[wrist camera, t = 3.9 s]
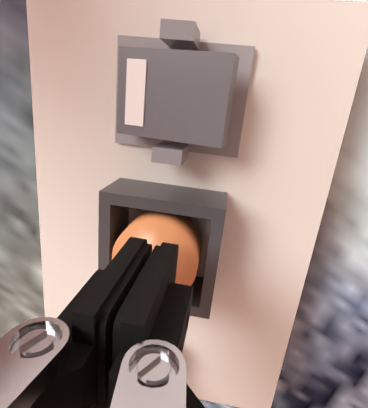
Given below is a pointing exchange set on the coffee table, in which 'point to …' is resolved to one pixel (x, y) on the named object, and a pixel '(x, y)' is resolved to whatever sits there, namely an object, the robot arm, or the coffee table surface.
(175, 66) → the rocker switch
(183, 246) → the push button
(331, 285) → the coffee table surface
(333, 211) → the coffee table surface
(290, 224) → the switch board
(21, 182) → the coffee table surface
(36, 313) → the coffee table surface
